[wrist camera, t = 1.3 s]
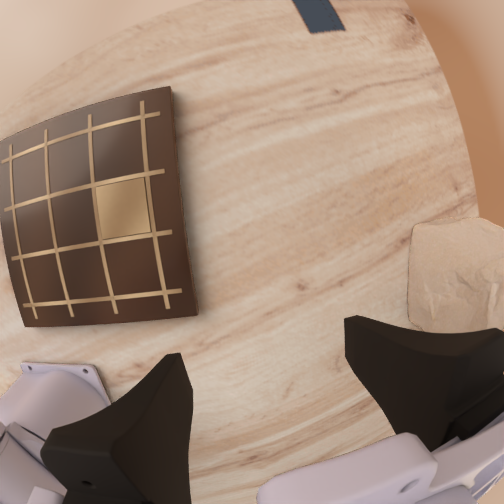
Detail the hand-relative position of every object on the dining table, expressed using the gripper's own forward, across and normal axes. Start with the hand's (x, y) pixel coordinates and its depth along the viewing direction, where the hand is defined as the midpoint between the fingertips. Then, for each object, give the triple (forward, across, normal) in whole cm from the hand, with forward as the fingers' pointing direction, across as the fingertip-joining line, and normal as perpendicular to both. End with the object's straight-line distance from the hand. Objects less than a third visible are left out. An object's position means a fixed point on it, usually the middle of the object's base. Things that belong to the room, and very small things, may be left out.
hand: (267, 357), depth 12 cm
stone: (+9, -16, +2) cm, 19 cm away
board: (+9, +11, -8) cm, 16 cm away
